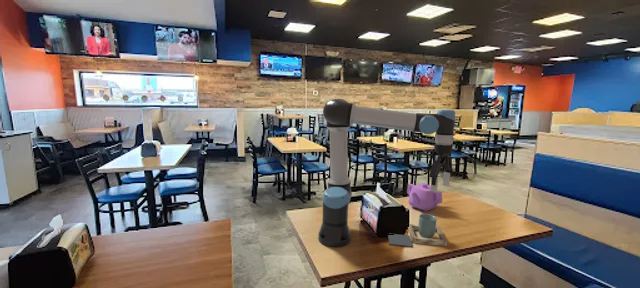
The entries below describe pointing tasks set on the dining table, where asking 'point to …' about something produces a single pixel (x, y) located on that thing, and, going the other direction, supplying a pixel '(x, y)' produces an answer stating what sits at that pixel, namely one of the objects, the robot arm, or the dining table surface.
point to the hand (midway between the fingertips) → (440, 188)
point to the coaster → (400, 240)
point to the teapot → (423, 197)
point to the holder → (440, 242)
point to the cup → (427, 225)
